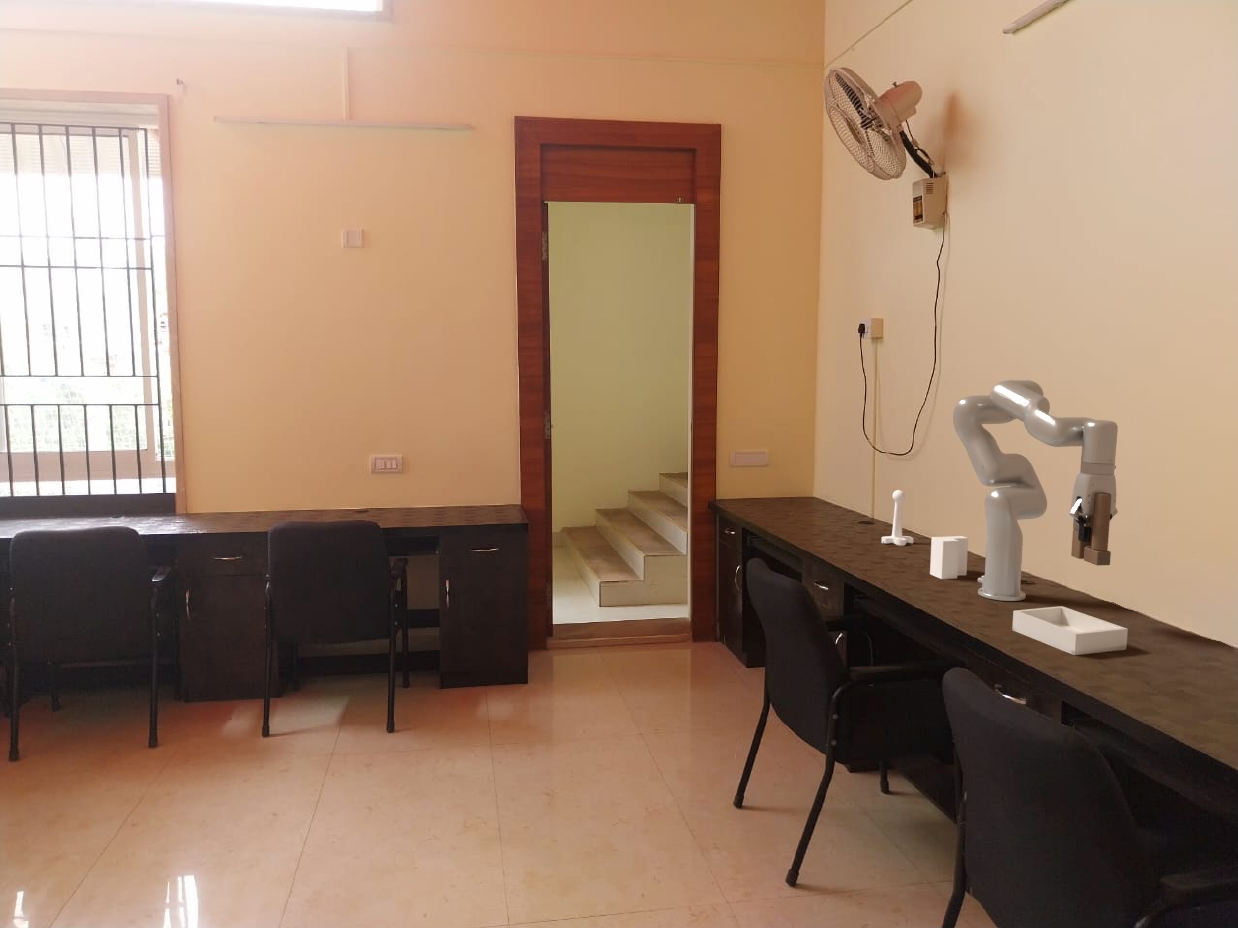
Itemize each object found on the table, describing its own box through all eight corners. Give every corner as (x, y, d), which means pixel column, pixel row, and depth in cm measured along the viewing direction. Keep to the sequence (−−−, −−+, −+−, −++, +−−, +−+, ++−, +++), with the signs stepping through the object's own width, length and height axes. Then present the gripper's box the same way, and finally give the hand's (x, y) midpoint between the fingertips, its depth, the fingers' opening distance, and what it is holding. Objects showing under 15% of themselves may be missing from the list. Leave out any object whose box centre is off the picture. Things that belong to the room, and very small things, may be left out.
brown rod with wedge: (1083, 555, 229) (1088, 487, 227) (1110, 565, 218) (1115, 494, 216) (1070, 555, 229) (1074, 487, 226) (1096, 566, 218) (1101, 494, 216)
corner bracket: (941, 579, 273) (943, 541, 271) (922, 570, 284) (923, 534, 282) (972, 577, 275) (974, 540, 274) (952, 569, 286) (953, 533, 285)
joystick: (908, 541, 330) (910, 489, 328) (917, 545, 323) (919, 492, 320) (880, 542, 329) (882, 489, 327) (887, 546, 322) (889, 492, 319)
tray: (1012, 630, 221) (1013, 610, 220) (1060, 625, 225) (1061, 606, 224) (1074, 655, 202) (1076, 634, 201) (1126, 649, 206) (1127, 628, 205)
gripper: (1111, 466, 226) (1105, 536, 229) (1058, 468, 222) (1053, 539, 224) (1136, 470, 219) (1130, 542, 222) (1082, 472, 214) (1076, 545, 217)
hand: (1091, 540), depth 223 cm, fingers closed on brown rod with wedge, 4 cm apart
